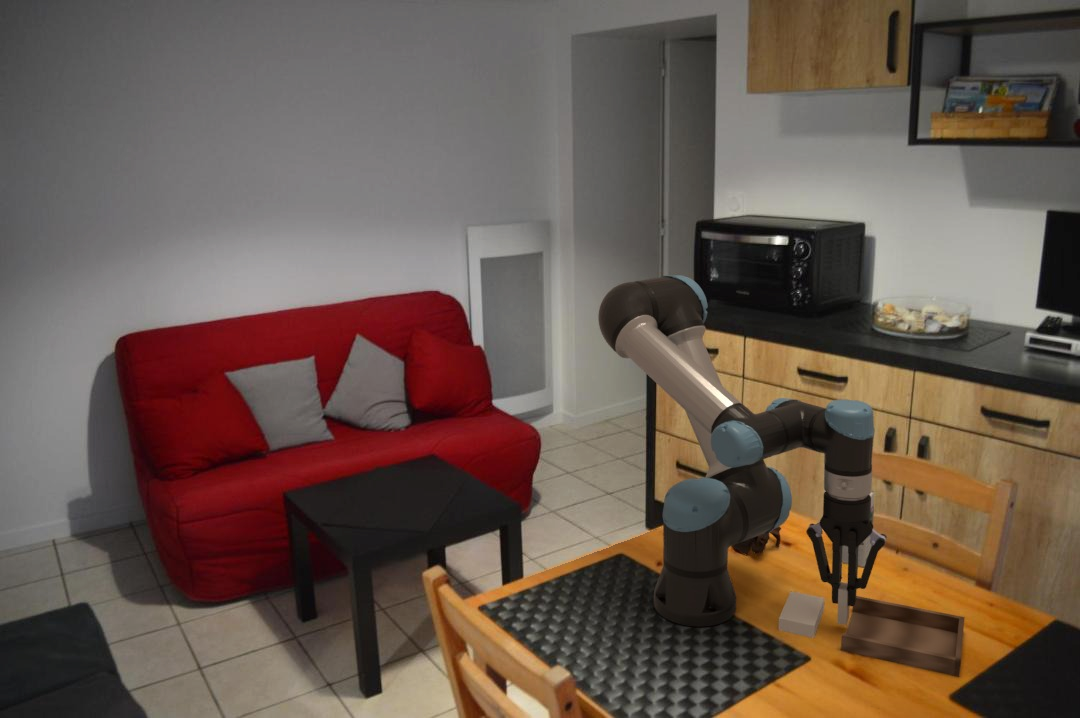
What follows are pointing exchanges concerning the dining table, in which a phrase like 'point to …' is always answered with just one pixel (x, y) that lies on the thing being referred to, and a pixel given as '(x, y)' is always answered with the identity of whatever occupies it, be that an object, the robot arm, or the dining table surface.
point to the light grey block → (801, 614)
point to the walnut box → (905, 635)
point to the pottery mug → (758, 542)
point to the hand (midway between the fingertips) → (843, 620)
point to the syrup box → (864, 546)
